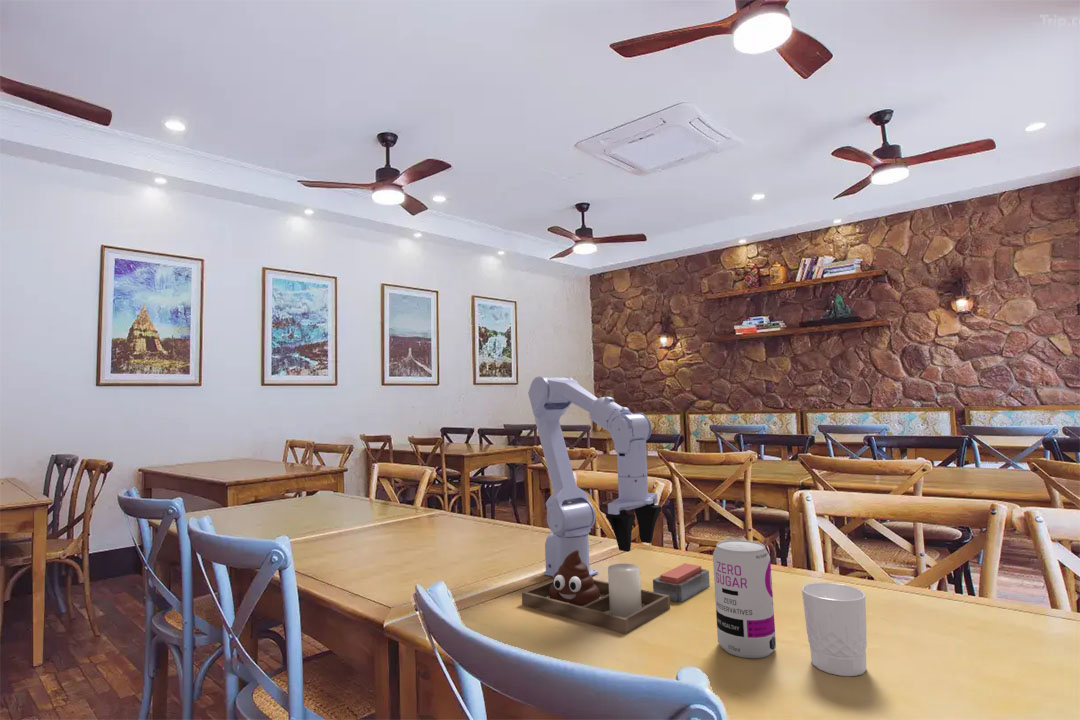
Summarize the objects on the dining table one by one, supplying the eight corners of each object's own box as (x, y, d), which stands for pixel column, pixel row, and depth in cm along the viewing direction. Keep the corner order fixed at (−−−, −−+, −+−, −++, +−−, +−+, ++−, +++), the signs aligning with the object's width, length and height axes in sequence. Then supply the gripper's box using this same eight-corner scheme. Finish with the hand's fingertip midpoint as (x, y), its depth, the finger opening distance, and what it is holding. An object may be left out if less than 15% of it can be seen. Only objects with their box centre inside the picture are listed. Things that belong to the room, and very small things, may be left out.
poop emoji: (606, 596, 110) (603, 546, 111) (591, 611, 103) (588, 558, 103) (558, 590, 115) (557, 543, 115) (540, 604, 107) (539, 553, 108)
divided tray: (522, 604, 107) (521, 592, 107) (570, 584, 118) (569, 574, 118) (626, 633, 92) (625, 619, 92) (670, 608, 102) (669, 595, 102)
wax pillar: (603, 615, 100) (601, 569, 101) (621, 606, 104) (619, 561, 105) (630, 623, 96) (628, 574, 97) (648, 613, 100) (645, 566, 101)
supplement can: (774, 639, 87) (767, 540, 89) (778, 663, 80) (770, 553, 81) (719, 634, 90) (713, 538, 91) (717, 657, 82) (711, 550, 83)
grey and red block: (652, 596, 109) (651, 580, 109) (683, 580, 118) (682, 565, 118) (681, 602, 105) (680, 586, 105) (710, 585, 114) (709, 570, 114)
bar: (660, 591, 109) (660, 575, 109) (685, 578, 116) (684, 563, 117) (678, 594, 107) (677, 578, 107) (702, 581, 114) (701, 566, 114)
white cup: (795, 655, 82) (790, 584, 83) (847, 651, 83) (842, 580, 83) (827, 681, 74) (822, 602, 75) (884, 676, 75) (878, 598, 76)
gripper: (628, 481, 103) (632, 557, 102) (669, 472, 114) (672, 541, 113) (597, 478, 108) (600, 551, 107) (639, 470, 119) (642, 537, 118)
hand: (635, 546), depth 110 cm, fingers open, 7 cm apart
